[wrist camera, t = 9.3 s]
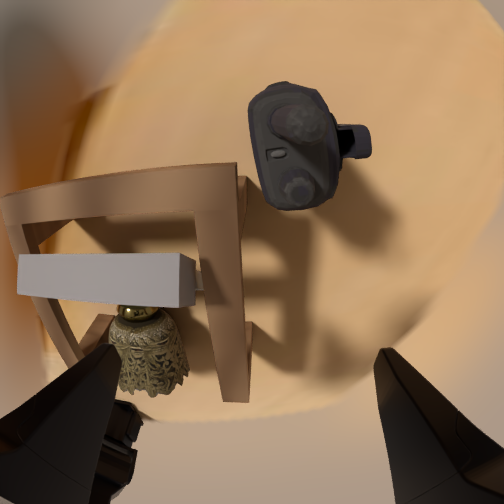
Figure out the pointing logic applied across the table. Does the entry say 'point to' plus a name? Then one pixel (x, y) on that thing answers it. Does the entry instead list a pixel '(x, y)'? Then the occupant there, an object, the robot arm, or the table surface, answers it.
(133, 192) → the frame
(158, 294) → the trapdoor
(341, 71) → the table surface
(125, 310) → the brass rounded piece
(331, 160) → the two-way radio
